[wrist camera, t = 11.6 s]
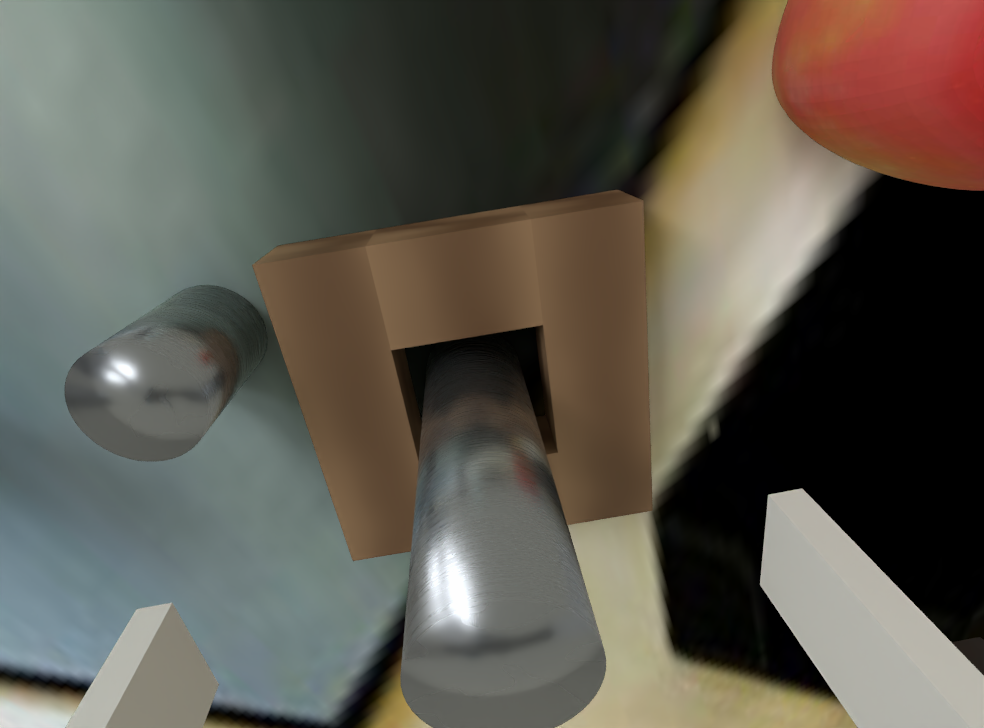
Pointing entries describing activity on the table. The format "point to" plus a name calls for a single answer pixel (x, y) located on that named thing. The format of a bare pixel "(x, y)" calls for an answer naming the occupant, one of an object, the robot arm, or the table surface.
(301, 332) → the socket plate
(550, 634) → the tall pin
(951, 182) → the apple
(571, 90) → the table surface
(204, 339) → the short pin
